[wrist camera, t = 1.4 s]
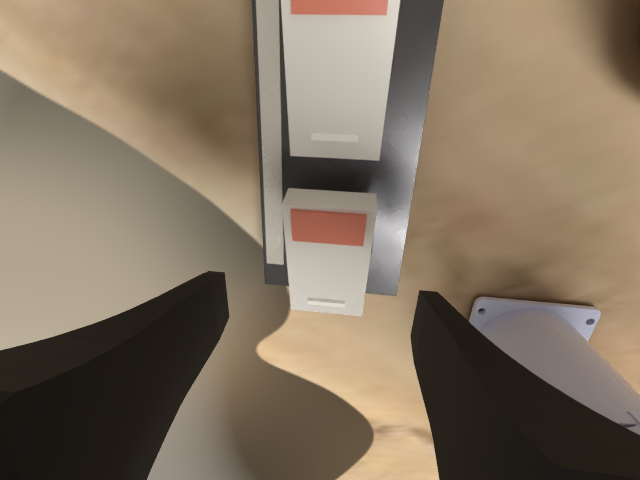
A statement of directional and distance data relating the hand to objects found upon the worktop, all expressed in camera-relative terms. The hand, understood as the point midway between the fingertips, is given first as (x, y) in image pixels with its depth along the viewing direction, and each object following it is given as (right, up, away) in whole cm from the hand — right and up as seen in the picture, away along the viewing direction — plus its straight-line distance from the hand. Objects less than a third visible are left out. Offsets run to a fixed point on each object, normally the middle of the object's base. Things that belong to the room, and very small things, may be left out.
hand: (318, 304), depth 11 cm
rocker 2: (+1, +2, +5) cm, 6 cm away
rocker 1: (+1, +10, +2) cm, 10 cm away
